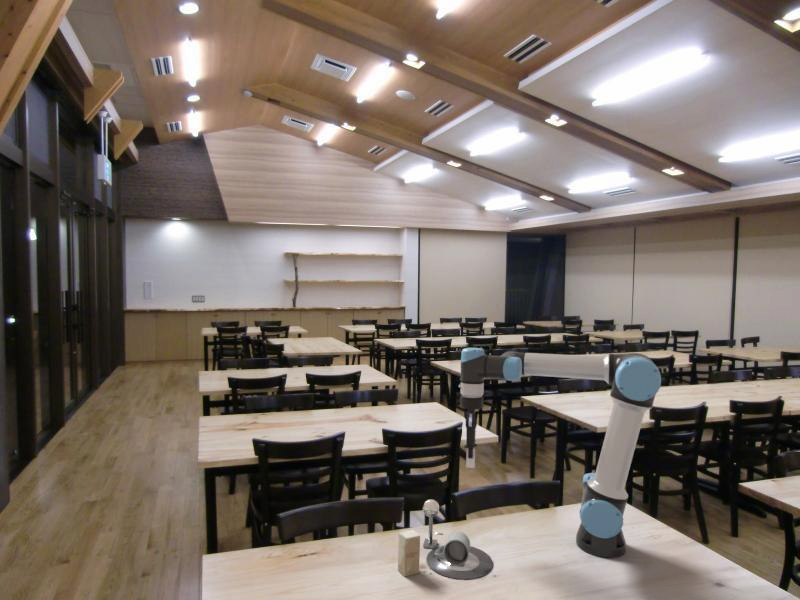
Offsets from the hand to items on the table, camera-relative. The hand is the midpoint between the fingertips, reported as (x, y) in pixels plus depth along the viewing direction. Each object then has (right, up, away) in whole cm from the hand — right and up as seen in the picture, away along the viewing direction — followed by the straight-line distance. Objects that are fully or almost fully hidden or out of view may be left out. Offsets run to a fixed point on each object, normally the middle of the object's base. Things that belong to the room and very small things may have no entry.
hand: (470, 466), depth 172 cm
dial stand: (-13, -24, -3) cm, 28 cm away
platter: (-5, -25, -13) cm, 28 cm away
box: (-21, -25, -19) cm, 37 cm away
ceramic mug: (-7, -24, -12) cm, 28 cm away
